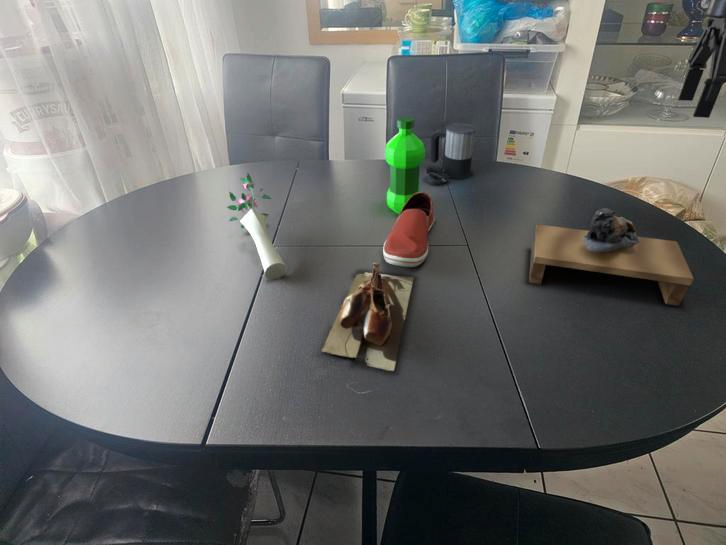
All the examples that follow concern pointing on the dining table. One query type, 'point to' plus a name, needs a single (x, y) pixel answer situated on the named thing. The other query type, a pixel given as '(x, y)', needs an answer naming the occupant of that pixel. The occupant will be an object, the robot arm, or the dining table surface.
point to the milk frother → (452, 152)
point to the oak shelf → (612, 259)
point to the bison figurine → (610, 232)
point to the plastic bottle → (403, 164)
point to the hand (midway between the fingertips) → (692, 108)
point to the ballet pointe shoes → (371, 319)
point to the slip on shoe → (410, 232)
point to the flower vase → (258, 231)
